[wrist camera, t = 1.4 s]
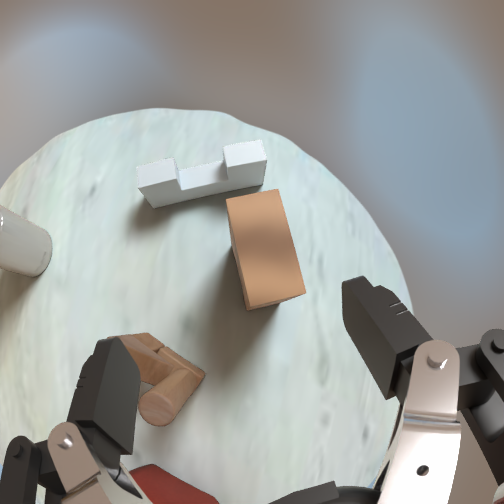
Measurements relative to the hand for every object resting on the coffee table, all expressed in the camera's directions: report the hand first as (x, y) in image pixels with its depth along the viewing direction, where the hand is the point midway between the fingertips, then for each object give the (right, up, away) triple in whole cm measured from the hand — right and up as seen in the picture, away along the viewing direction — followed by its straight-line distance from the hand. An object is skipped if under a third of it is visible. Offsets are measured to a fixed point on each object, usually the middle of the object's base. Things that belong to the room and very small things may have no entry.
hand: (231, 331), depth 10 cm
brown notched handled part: (-11, -14, +31) cm, 36 cm away
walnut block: (+1, -1, +34) cm, 34 cm away
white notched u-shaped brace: (-7, +13, +37) cm, 40 cm away
